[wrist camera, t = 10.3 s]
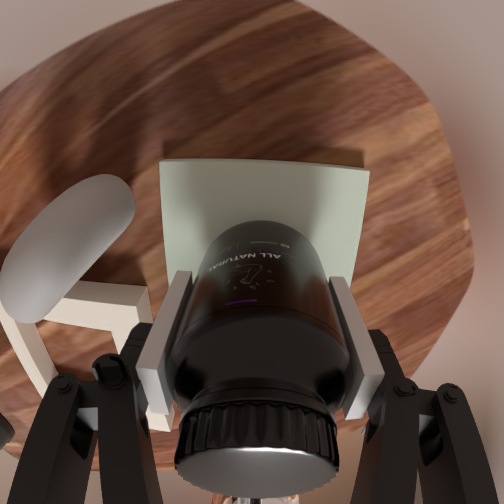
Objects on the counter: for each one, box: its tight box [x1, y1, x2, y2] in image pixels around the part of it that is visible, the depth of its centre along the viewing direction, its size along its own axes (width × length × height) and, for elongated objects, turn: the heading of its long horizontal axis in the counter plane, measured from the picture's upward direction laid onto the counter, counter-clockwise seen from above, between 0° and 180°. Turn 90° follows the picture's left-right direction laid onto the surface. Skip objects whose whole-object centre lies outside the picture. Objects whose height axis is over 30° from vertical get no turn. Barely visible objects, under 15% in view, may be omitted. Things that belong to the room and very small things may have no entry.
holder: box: [0, 280, 175, 432], centre depth 24 cm, size 16×16×2 cm
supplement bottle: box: [166, 220, 353, 499], centre depth 12 cm, size 7×7×12 cm
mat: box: [159, 158, 370, 288], centre depth 19 cm, size 12×12×1 cm
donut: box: [0, 174, 136, 324], centre depth 14 cm, size 10×4×10 cm, turn 129°
